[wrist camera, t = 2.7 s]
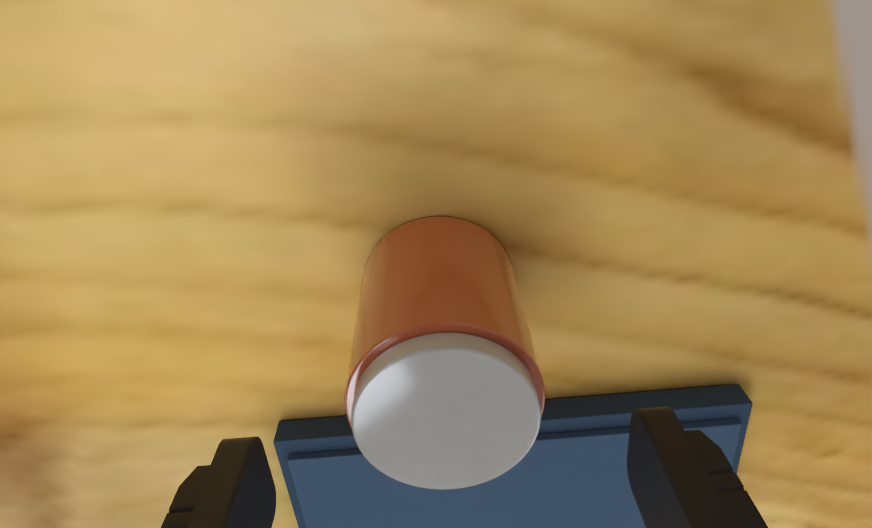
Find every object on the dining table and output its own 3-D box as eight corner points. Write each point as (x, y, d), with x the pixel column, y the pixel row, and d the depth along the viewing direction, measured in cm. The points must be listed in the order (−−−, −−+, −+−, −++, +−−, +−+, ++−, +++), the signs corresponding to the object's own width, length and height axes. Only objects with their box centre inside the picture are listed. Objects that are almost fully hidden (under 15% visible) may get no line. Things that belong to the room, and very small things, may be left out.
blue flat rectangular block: (278, 420, 21) (270, 448, 20) (738, 382, 21) (757, 409, 20) (319, 563, 25) (314, 594, 24) (707, 534, 25) (721, 563, 23)
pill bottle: (352, 222, 17) (324, 350, 12) (511, 209, 17) (552, 330, 12) (373, 350, 20) (357, 503, 14) (514, 338, 20) (550, 489, 14)
